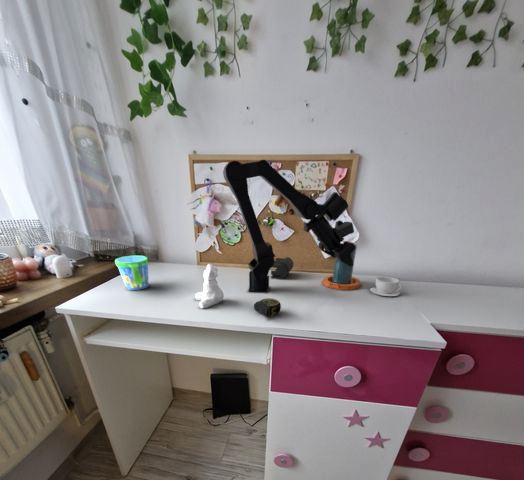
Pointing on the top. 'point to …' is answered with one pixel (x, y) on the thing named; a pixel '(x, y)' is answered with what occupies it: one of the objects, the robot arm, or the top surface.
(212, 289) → the sitting furry creature
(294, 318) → the top surface
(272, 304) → the tape measure
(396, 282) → the teacup
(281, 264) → the end cap
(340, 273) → the cup
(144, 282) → the snack cup
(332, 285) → the ring
